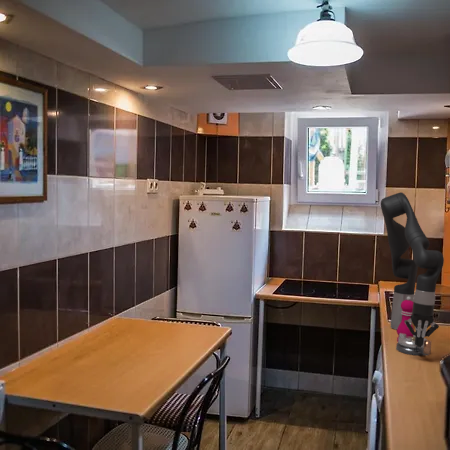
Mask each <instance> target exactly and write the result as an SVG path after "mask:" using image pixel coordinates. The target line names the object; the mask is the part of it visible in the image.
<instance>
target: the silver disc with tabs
mask: <svg viewBox="0 0 450 450" xmlns="http://www.w3.org/2000/svg"><path fill="white" fill-rule="evenodd" d="M395 348H396V349H395V350H396V351H398V352H399V353H403V354H405V355H409V356H410V355H411V356H418V357H422V356H424V355H423V354H422V353H420V352H419V351H418V350H414V349H408V348H404V347H402V346H400V345H398V342H396V346H395Z"/></svg>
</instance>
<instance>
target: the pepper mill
mask: <svg viewBox="0 0 450 450" xmlns="http://www.w3.org/2000/svg"><path fill="white" fill-rule="evenodd" d="M401 308H402V311H401V312H402V313H401V314H402V320H401V323H400V325H399V326H398V328H397V330H396V334H397V336H396V341H397V342H396V343H398V338H399V334H400V333H405V334H406V336H413V334H412V333H411V332H410V330H409V329H408V327H407V326H406V324H405V322H404V321H405V320H408V319H410V317H411V315H412V311H413V301H411V297H407V300H404V301H403V302H402V303H401ZM411 323H412V325H411V327H412V328H413V330H414V331H415V329H414V328H415V327H414V325H413V322H411Z"/></svg>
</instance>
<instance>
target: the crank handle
mask: <svg viewBox="0 0 450 450" xmlns="http://www.w3.org/2000/svg"><path fill="white" fill-rule="evenodd" d="M398 337H399V338H398V342H397V343H398V345H400V346H402V347H404V348H408V349H414V350H418V351H419V352H420V353H422V354H423V356H429V355H431V351H432V340H428V339H427V338H426V337H424V342H423V346H421V347H417V346H416V344H415V335H413V336H406V334H405V333H400V334H399V336H398Z"/></svg>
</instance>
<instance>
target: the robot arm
mask: <svg viewBox="0 0 450 450" xmlns="http://www.w3.org/2000/svg"><path fill="white" fill-rule="evenodd" d="M380 209H381V213H382V216H383V220H384V223H385V229H386V233H387V234H386V235H387V241H388V246H389V251H390V256H391V268H392V274H393V276H394V277H396V278H400V279H404V280H405V279H406V280H407V281H406V282H404V283H401V284H396V285H394V287H393V296H392V297H393V298H392V308H391V319H390V328H391V329H394V330H396V331H397V328H398V326H399V325H400V323H401V320H402V314H401V313H402V312H401V311H402V308H401V303H402V302H403V301H404V300H407V297H411V301H413V311H412V315H411V317H410V319H408V320H405V321H404V322H405V324H406V326H407V327H408V329H409V330H410V332H411V333H412V334H413V335H415V344H416V346H417V347H421V346H423V342H424V338H426V337H430V336H431V335H432V334H433V333H434V332H436V330H438V328H439V326H440V325H438V323H436V322H435V321H434V310H435V302H436V289H437V288H436V287H437V281H438V278H439V276H440V273H441V271H442V269H443V266H444V263H445V259H444V255H443V253H442V252H441V251H439V250H433V249H431V250H430V249H429V247H430V245H431V243H430V240H429V239H428V237H427V236H426V234H425V232H424V231H423V230H422V228H421V225H420V223H419V221H418V218H417V216H416V213H415V212H414V209H413V207H412V205H411V203H410V200H409V198H408V197H407V195H406V194H405V193H403V192H402V191H401V192H400V191H399V192H398V193H397V192H396V193H394V194H391V195H388V196H386V197H383V198H382V199H381V200H380ZM402 215H406V221H405V226H404V225H402V224H400V223H399V222H397V221H396V220H395V218H397V217H400V216H402ZM409 248H411V253H412V256H413V259H411V258H410V259H409V258H402V256H403V255H404V254H405V253H406V252H407V251H408V250H409ZM419 268H420V269H425V270H426V271H425V272H424V273H421V274H418V270H419ZM411 322H412V323H411ZM411 325H412V326H413V328H415V329H414V330H413V328H412V327H411Z"/></svg>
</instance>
